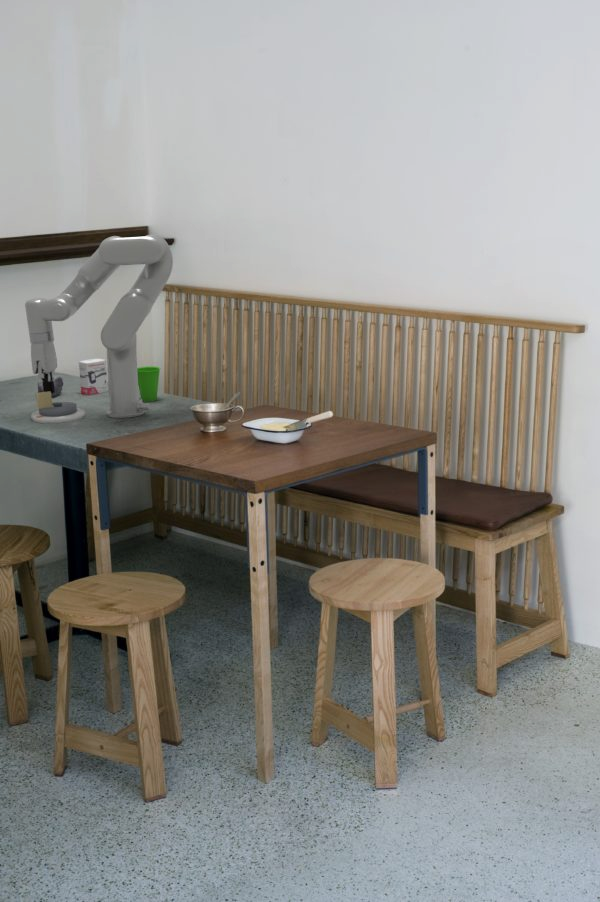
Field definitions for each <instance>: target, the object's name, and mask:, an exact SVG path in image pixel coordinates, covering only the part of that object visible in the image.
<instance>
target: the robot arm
mask: <svg viewBox="0 0 600 902" xmlns="http://www.w3.org/2000/svg"><path fill="white" fill-rule="evenodd" d="M172 253H173V252H172V250H171V247H170V246H169V244H168V242H167V241H166V240H165V238H164V237H162V236H161V235H160V234H156V233H150V234H147V235H145V236H131V237H129V236H128V237H121V236H117V235H113V236H109V237H107V238H105V239H104V240H102V241H101V243H100V244H99V247H98V248H97V249H96V250H95V252H94V253H92V255H90V256H89V258H88V259H87V260H86V261H85V262H84V263H83V264H82V265H81V266H80V268H79V270H78V272H77V273H76V274H77V275H76V276H75V277H74V279H73V280H72V281H71V282H70V283H69V284H68V286H67V287H66V288H65V289H64V290H63V291H62V292H61V293H60V294H59V295H57V296H56V297H53V298H50V299H47V298H32V299H28V300H26V302H25V305H24V308H25V313H26V320H27V321H26V322H27V328H28V329H27V330H28V334H29V342H30V359H31V360H30V361H31V370H32V374H34V375H38V379H40V381H42V383H43V390H44V392H48V391H50V392H51V394H53V393H55V388H54V381H52V380H54V376H55V375H54V374H55V372H56V369H58V358H57V354H56V349H55V344H54V341H55V337H54V328H53V322H64V321H66V320H68V319H69V318H70V317H73V316H74V315H75V314H76V313H78V311H79V310H80V309H81V307H82V306H83V305H85V303H86V302H87V301H88V300H89V299H90V298H91V297H92V295H93V294H94V293H96V291H98V290H99V289H100V288H101V287H102V286H103V285H104V283H105V282H107V280H108V279H109V278H110V277H111V275H113V274H114V272H115V271H117V270H118V269H119V268H120V266H134V265H135V266H137V265H138V266H139V265H144V267H143V269H142V270H141V272H140V273H139V276H138V277H137V279H136V280H135V282H134V283H133V285H132V286H131V288H130V289H129V290H128V291H127V292H126V293H125V294H124V295H122V297H121V298H120V300H119V301H118V303H117V304H116V306H115V307H114V309H113V311H112V312H111V314H110V315H109V317H108V319H106V320H107V321H106V322H105V324H103V326H102V328H101V331H100V341H101V344H102V345H103V346H104V347H105V349H106V368H107V384H108V395H109V405H110V406H109V409H107V410H106V411H105V415H106V416H107V417H109V418H115V419H123V418H124V419H125V418H134V417H135V418H136V417H139V416H142V415H144V414H145V411H150V410H151V409H152V407H151V404H150V402H146V403H144V401H142V399H141V398H140V390H139V386H138V372H137V368H138V357H137V356H138V355H137V332H138V330H139V329H140V327H141V325H142V324H143V323H144V321H145V320H146V318H147V317H148V316H149V315H150V313H151V311H152V308H153V306H154V305H155V303H156V301H157V299H158V297H159V296H160V294H161V293H162V291H163V289H164V287H165V286H166V284H167V282H168V280H169V279H170V277H171V273H172V270H173V266H174V265H173V264H174V260H173V254H172Z"/></svg>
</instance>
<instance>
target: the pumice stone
mask: <svg viewBox="0 0 600 902" xmlns="http://www.w3.org/2000/svg"><path fill="white" fill-rule="evenodd" d="M52 381H54V388H55V393H53V394H51V398H52V399H54V398H57V397H58V396H60V395H61V393H62V391H63V387H64V381H63V378H62V376H60V375H54V380H52ZM40 392H44V390H43V383H42V381H41V380H39V381H38V382H37V393H40Z"/></svg>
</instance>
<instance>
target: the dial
mask: <svg viewBox="0 0 600 902" xmlns="http://www.w3.org/2000/svg"><path fill="white" fill-rule="evenodd" d="M35 397H36V404H37V405H36V408H37V409H38V411H39V414H40V415H44V416H62V415H69V414H73V413H75V412H77V408H78V407H77V403H75V402H72V401H70V402H69V401H54V402H52V401H53V398H51V392H50V391H48V392H40V393H38V392H36V394H35Z"/></svg>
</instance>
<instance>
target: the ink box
mask: <svg viewBox="0 0 600 902" xmlns="http://www.w3.org/2000/svg"><path fill="white" fill-rule="evenodd" d="M78 367H79V381H80V383H79V384H80V392H81V394H82V395H86V396H92V395H97V394H104V393H109V385H108V372H107V359H106V360H105V359H103V358H99V357H98V358H97V357H96V358H91V359H85V360H80V361H79V362H78Z"/></svg>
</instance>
